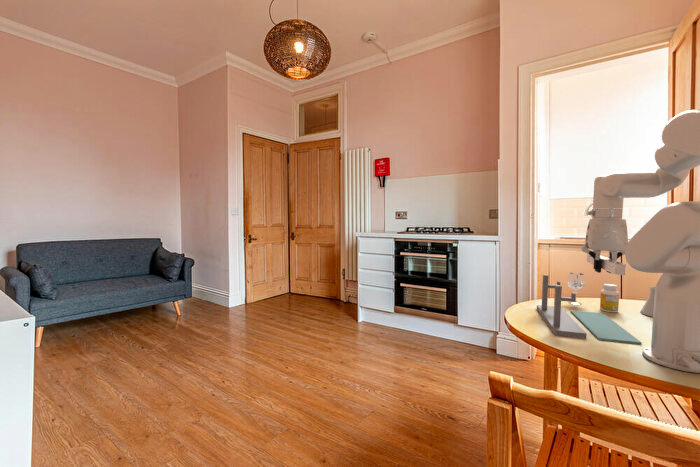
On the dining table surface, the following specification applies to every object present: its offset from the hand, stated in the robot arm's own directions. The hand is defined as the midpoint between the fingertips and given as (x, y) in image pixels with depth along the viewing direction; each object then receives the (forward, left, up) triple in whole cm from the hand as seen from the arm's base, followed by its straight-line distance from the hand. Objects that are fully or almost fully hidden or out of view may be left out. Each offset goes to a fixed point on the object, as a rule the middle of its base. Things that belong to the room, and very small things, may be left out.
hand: (603, 271), depth 106 cm
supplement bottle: (+21, -9, -18) cm, 29 cm away
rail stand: (0, +12, -18) cm, 21 cm away
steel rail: (0, 0, +1) cm, 1 cm away
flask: (+20, -22, -18) cm, 35 cm away
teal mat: (0, 0, -18) cm, 18 cm away
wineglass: (+28, 0, -18) cm, 33 cm away
